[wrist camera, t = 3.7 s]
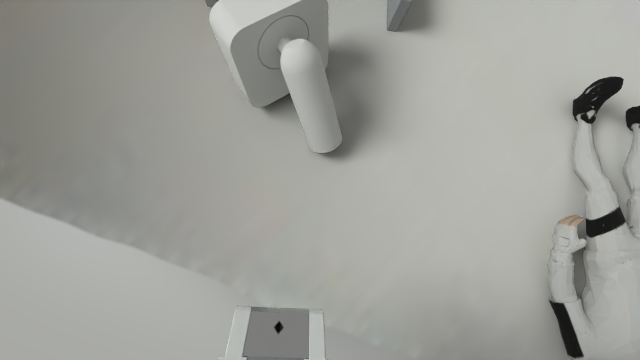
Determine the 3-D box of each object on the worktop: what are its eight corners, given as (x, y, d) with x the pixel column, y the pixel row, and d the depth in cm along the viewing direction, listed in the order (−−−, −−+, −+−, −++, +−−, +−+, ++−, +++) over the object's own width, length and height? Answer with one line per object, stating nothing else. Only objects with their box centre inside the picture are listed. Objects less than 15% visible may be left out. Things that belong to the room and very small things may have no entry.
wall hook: (296, 178, 26) (278, 110, 17) (241, 99, 29) (202, 7, 20) (370, 134, 28) (390, 48, 18) (310, 63, 31) (302, -38, 22)
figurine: (731, 94, 26) (798, 509, 19) (653, 124, 32) (681, 447, 25) (577, 67, 27) (583, 458, 19) (530, 102, 33) (520, 410, 25)
